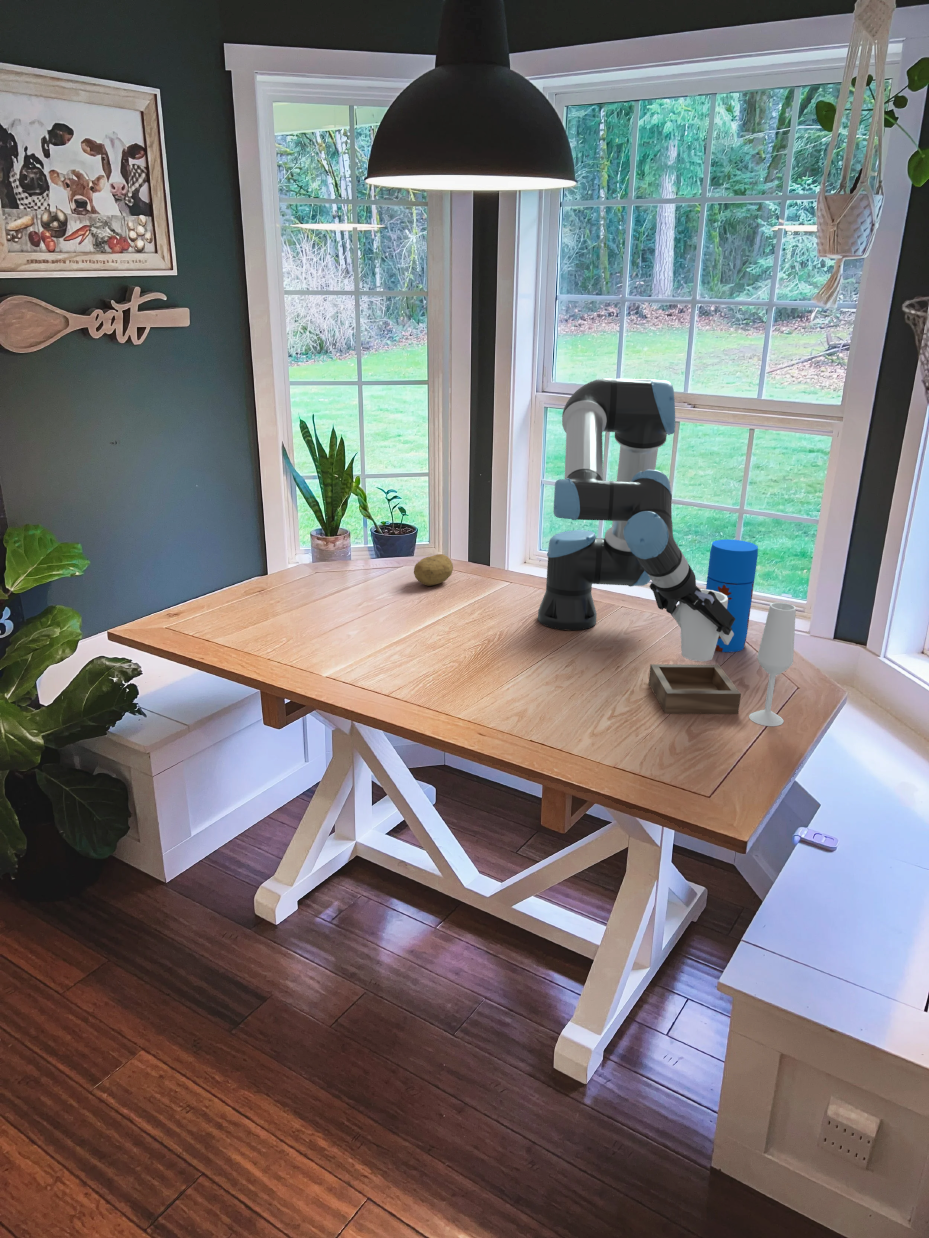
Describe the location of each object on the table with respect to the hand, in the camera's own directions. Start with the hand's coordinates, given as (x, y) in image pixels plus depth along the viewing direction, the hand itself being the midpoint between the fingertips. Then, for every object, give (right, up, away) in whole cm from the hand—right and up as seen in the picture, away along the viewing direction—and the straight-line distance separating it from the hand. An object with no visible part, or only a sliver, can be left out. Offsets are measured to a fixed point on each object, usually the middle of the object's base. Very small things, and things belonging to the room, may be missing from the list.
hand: (707, 632), depth 185 cm
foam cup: (-2, -5, 0) cm, 6 cm away
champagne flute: (+10, -18, -5) cm, 21 cm away
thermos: (+13, -4, +33) cm, 35 cm away
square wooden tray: (-3, -14, +3) cm, 14 cm away
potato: (-60, +13, +74) cm, 96 cm away
